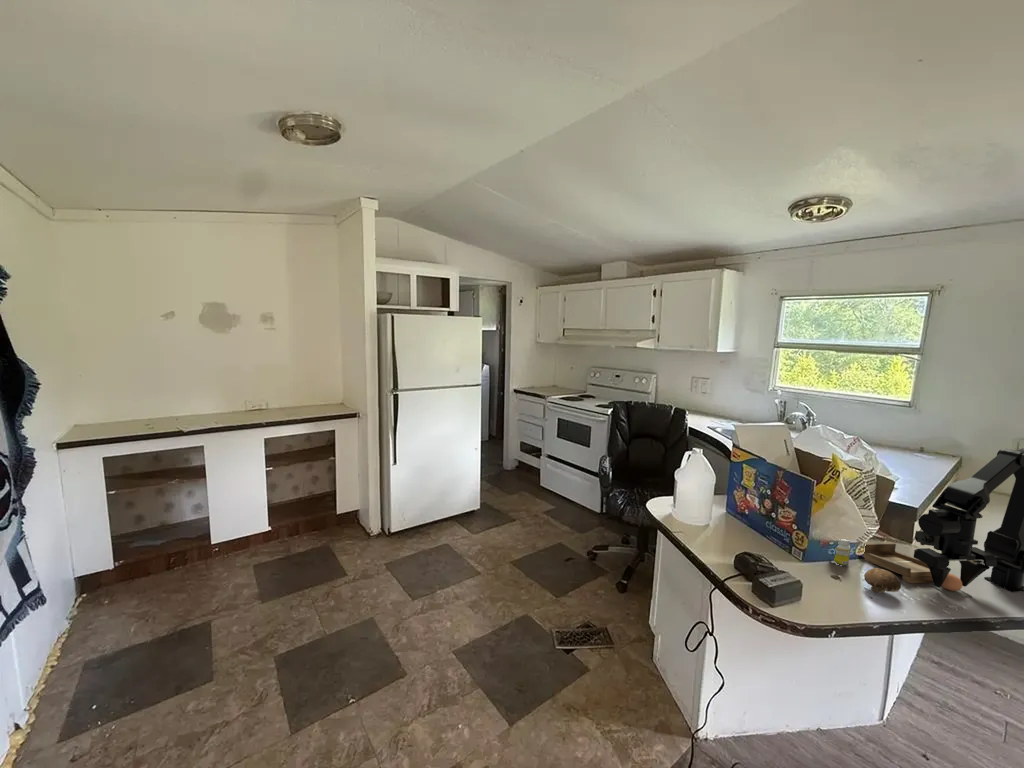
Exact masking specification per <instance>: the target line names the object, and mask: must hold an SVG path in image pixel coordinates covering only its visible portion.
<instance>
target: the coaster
mask: <svg viewBox="0 0 1024 768" xmlns="http://www.w3.org/2000/svg"><path fill="white" fill-rule="evenodd" d="M927 585H928V586H930V587H932V588H933V589H935V590H938V591H940V592H941V593H942V594H944V595H946V596H948V597H950V598H972V597H973V596H972V595H971V594H970V593H967V592H966V591H964V590H961V589H960V590H958V591H950V590H948V589H946V588H944V587H943V586H942V585H941V587H939V588H938V587H936V586H935V585H934V583H927Z"/></svg>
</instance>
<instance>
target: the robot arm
mask: <svg viewBox="0 0 1024 768" xmlns="http://www.w3.org/2000/svg"><path fill="white" fill-rule="evenodd" d="M1012 475H1013V476H1014V479H1015V480H1014V484H1013V487H1012V491H1011V493H1010V496H1009V500H1008V501H1007V506H1006V509H1005V512H1004V515H1003V518H1002V522H1001V524H1000V527H999V528H996V529H995V530H989V531H988V532H987V535H986V537H985V538H986V539H985V541H984V542H983V549H984V550H983V549H980V548H978V547H976V545H978V544H979V541H978V540H976V539H975V534H976V533H975V531H976V526H977V519H982V518H983V515H982V514H981V512H982V511H984V509H985V508H986V507H987V506H988V505H989V504H990V501H991V500H990V499H991V497H990V494H991V493H992V492H993V491H994V490H995V489H997V488H998V487H999V486H1001V485H1002V484H1003V483H1004V482H1005V481H1006V480H1008V478H1010V477H1011V476H1012ZM934 508H935V509H934ZM917 520H918V522H917V523H918V526H919V528H920V530H915V533H914V539H915V542H916V543H919V544H920V546H925V545H926V546H931V547H933V549H931V548H928V547H926V548H920V547H919V548H916V549H914V551H913V557H914V558H916V559H918V560H920V561H922V562H924V563H926V564H927V566H928V567H929V570H930V572H931V575H932V579H933V582H934V585H935V586H936V587H938V588H939V587H941V585H942V584H943V582H944V581H945V579H946V577H947V575H948V574H950V572H951V570H952V569H951V568H949V566H950V562H955V561H956V562H959V564H960V574H959V575H960V576H959V577H960V578H959V579H960V580H961V581H962V587H964V588H965V587H967V586H968V585H970V584H971V583H972V582H973V581H974V580H975V579H977V578H978V577H980V575H981V574H983V573H984V572H986V571H987V570H990V568H991V567H992V568H991V572H990V573H991V574H990V576H985V577H983V579H984V580H986V581H988V582H990V583H992V584H993V583H994V585H995V584H996V585H995V586H998V587H1000V588H1002V589H1004V590H1006V591H1007V592H1010V591H1011V592H1013V593H1014V592H1015V593H1017V592H1019V591H1022V592H1024V448H1019V449H1018V450H1014V449H1011V448H1010V449H1009V448H1001V449H999V450H998V451H997V454H996V456H995V457H993V458H992V459H991V460H990V461H989V462H988V463H986V464H985V465H984V466H982V467H981V468H980V469H979V470H977V471H976V472H975V473H974V474H973V475H972V476H970V477H968V478H967V479H962V480H957V481H955V482H953V483H951V484H950V485H948V486H946V487H945V488H944V489H943V491H942V492H941V494H940V495H939V496H938V497H937V499H936V500H935V501H934V503H933V504H932V509H930V508H929V509H928V513H924V514H921V515H920V517H919V518H918V519H917ZM974 545H975V546H974ZM936 550H937V551H936ZM938 551H940V552H938ZM1011 592H1010V593H1011Z"/></svg>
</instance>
